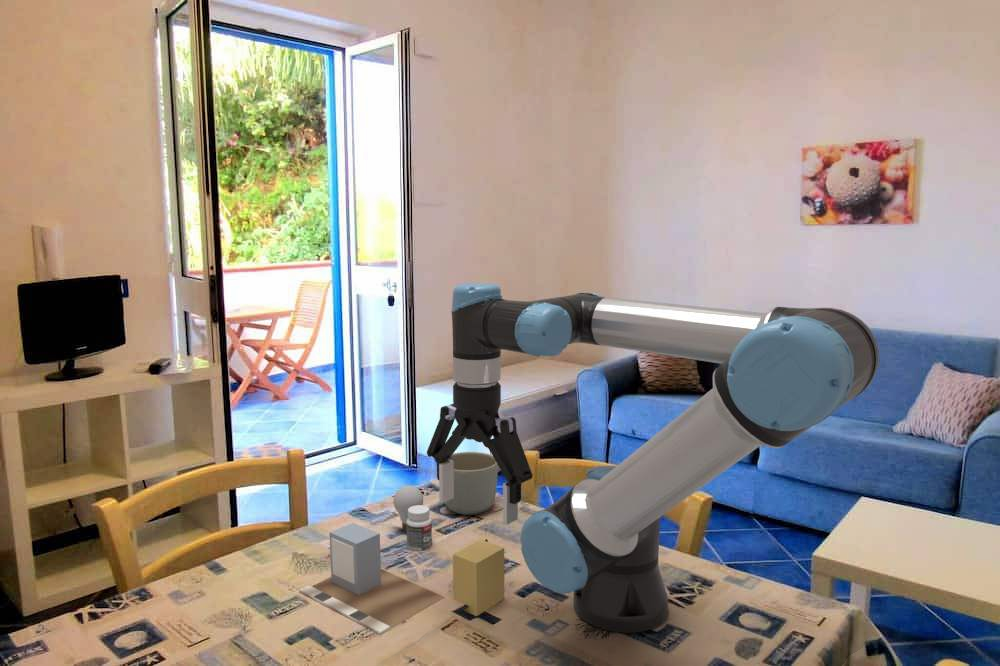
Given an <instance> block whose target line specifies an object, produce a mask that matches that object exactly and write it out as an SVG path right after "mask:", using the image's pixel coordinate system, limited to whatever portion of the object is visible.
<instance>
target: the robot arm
mask: <svg viewBox="0 0 1000 666" xmlns="http://www.w3.org/2000/svg"><path fill="white" fill-rule="evenodd" d="M451 303H452V304H451V310H450V314H451V321H452V322H451V323H452V326H451V327H452V380H453V381H454V383H453V385H452V402H453V403H450V404H447V405H444V406H441V407H440V409H439V411H440V413H439V420H438V422H437V425H436V428H435V430H434V433H433V435H432V436H431V437H432V438H431V440H430V443H429V445H428V448H427V451H426V455H427V457H429V458H431V457H432V458H433V459H434V462H435V463H436V478H437V481H439V484H438V485H439V486H438V488H439V492H438V493H439V497H438V498H439V503H444V504H445V502H446V501H448V500H451V499H453V498H454V461H452V460H449V461H448V459H450V458H452V457H451V456H452V454H454V453H456V452H455V451H456V450H457V449H458V447H460V445H461V444H462V443H463V442H464V440H469V441H470V440H474V441H475V442H477V443H482V444H483V446H484V447H486V448H487V449H488V450H489V452H490V455H492V456H493V457H494V459H495V461H496V463H497V464H498V469H499V470H500V471H501V473H502V474H503V477H504V478H505V480H506V482H504V483H502V524H503V525H509V524H511V523H513V522H515V521H517V520H518V518H519V515H518V514H519V511H518V509H519V508H518V507H519V505H518V504H519V503H520V502H521V501H522V484H523V483H525V482H527V481H530V480H531V479H532V478H533V472H532V470H531V467H530V465H529V464H530V463H529V462H528V460H527V456H526V453H525V450H524V449H523V446H522V442H521V440H520V438H519V435H518V431H517V421H516V418H515V417H514V416H511V417H508V418H501V417H500V414H499V410H500V406H501V403H502V400H501V399H502V389H501V387H502V385H501V384H500V382H499V381H500V380H501V377H502V376H501V371H502V370H501V360H502V359H501V356H502V355H501V353H502V350H503V351H509V352H514V353H519V354H520V353H521V354H525V355H530V356H532V357H556V356H559V355H561V354H562V353H563V350H564V349H566V348H567V347H568V345H571V344H580V343H581V344H588V345H595V346H603V347H609V348H617V349H622V350H630V351H635V352H636V351H637V352H643V353H650V354H654V355H655V354H658V355H661V356H669V357H675V358H683V359H688V360H689V359H690V360H697V361H703V362H709V363H715V364H720V365H718V367H717V368H715V369H714V371H713V372H712V388H711V389H710V390H709V391H707V392H706V393H705V394H704V395H702V396H701V397H700V398H699V399H698V400H696V401H695V402H694V403H692V404H691V405H690V406H689V407H687V409H686V410H684V411H683V412H681V414H679V415H678V416H677V417H676V418H674V419H673V420H672V421H670V422H669V423H668V424H667V425H666V426H664V427H663V428H662V429H661V430H659V431H658V432H657V433H656V434H654V435H653V436H652V437H651V438H649V440H647V441H646V442H645V443H643V444H642V445H641V446H640V447H639V448H637V449H636V450H635V451H634V452H632V453H631V454H630V455H629V456H627V457H626V458H625V459H624V460H622V461H621V462H620V463H619V464H618V465H599V466H598V465H597V466H593V467H591V468H589V469H588V470H587V471H586V476H585V478H584V479H583V480H581V481H579V482H578V483H577V484H576V485H574V486H573V487H572V488H571V489H569V490H568V491H567V492H566V493H564V494H563V495H562V496H561V497H560V498H558V499H557V500H555V502H553V503H552V504H550V505H549V506H547V507H545V508H544V509H541V510H538V511H535V512H534V513H533V514H532V515H530V516H529V517H528V519H526V520H525V521H524V523H523V525H522V527H521V530H520V531H521V532H520V539H519V540H520V543H521V547H520V549H521V554H522V556H523V559H524V562H525V564H526V566H527V569H528V570H529V571H530V573H531V574H532V576H533V577H534V578H535V579H536V580H537V581H538V583H540V585H542V586H543V587H545V588H546V589H549V590H550V591H552V592H554V593H557V594H561V595H563V594H564V595H565V594H571V593H572V592H573V609H574V611H575V613H576V614H577V615H578V617H580V619H581V620H582V621H584V622H585V623H587V624H589V625H591V626H593V627H595V628H598V629H601V630H604V631H608V632H615V633H623V634H625V633H626V634H627V633H634V634H635V633H641V632H646V631H650V630H653V629H655V628H657V627H659V626H661V625H662V624H663V623H664V622H665V621H666V619H667V617H668V615H669V596H668V593H667V590H666V587H665V584H664V579H663V576H662V573H661V569H660V566H659V553H660V530H661V529H660V528H661V527H660V526H661V517H663V516H664V515H666V514H667V513H668V512H670V510H672V509H673V508H675V507H676V506H678V505H679V504H681V503H682V502H683V501H685V500H686V499H688V498H689V497H690V496H692V495H693V494H694V493H696V492H697V491H699V490H701V488H703V487H704V486H706V485H708V483H710V482H711V481H713V480H715V479H716V478H717V477H718V476H720V475H721V474H723V473H724V472H725V471H727V470H728V469H730V468H731V467H733V466H735V464H737V463H738V462H739V461H741V460H742V459H744V458H745V457H747V456H748V455H749V454H750V453H752V452H753V451H755V450H757V449H758V448H759V447H761V446H762V447H766V448H770V449H781V448H783V447H784V446H786V445H787V444H789V443H791V441H793V440H795V439H796V438H798V437H800V435H802V434H803V433H805V432H806V431H808V430H809V429H811V428H812V427H813V426H815V425H818V424H820V423H822V422H824V421H825V420H826V419H828V418H829V417H831V416H832V415H833V414H834V413H836V411H837V410H838V409H839V408H841V407H842V406H844V405H845V404H847V403H848V402H850V401H852V400H853V399H854V398H856V397H858V396H859V395H860V394H862V393H863V392H864V391H865V390H866V389H867V388H868V387H869V386H870V384H871V383H872V382H873V380H874V379H875V376H876V375H877V372H878V367H879V364H880V363H879V362H880V350H879V346H878V342H877V340H876V337H875V335H874V333H873V332H872V330H871V329H870V328H869V326H868V325H867V324H866V323H865V322H864V321H863V320H862V319H860V318H859V317H857V316H856V315H854V314H852V313H850V312H848V311H846V310H843V309H839V308H834V307H815V308H813V307H811V308H810V307H807V308H806V307H804V308H803V307H802V308H799V307H786V306H773V307H772V308H771V309H770V310H768V311H767V312H756V311H748V310H738V309H727V308H718V307H707V306H697V305H688V304H687V305H686V304H676V303H668V302H656V301H646V300H645V301H644V300H638V299H625V298H616V297H615V298H614V297H605V296H603V295H602V294H600V293H596V292H578V293H576V294H575V293H574V294H570V295H565V296H557V297H550V298H544V299H537V300H528V301H525V300H524V301H523V300H522V301H521V300H511V299H509V300H508V299H504V298H503V296H502V291H501V287H500V285H498V284H494V283H487V282H469V283H461V284H458V285H456V286H455V287H454V288H453V291H452V302H451ZM455 421H456V423H457V425H456V427H455V428H454V429H453V431H452V428H453V424H454V422H455ZM451 431H452V432H451ZM450 432H451V435H450ZM449 435H450V436H449ZM492 437H493V438H492Z"/></svg>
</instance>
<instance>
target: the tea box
mask: <svg viewBox="0 0 1000 666" xmlns="http://www.w3.org/2000/svg"><path fill="white" fill-rule="evenodd" d="M452 573H453V574H452V575H453V576H452V578H453V579H452V581H453V583H452V584H453V585H452V586H453V587H452V588H453V600H454V601H457V602H460V603H462V604H464V605H466V606H468V607H466V608H464V609H463V611H464V612H466V613H468V614H470V615H473V616H475V617H478V616H480V615H481V614H483V613H485V611H487V610H488V609H491V608H492V607H493V606H495V605H497V604H498V603H500V602H501V601H503V600H504V599H505V547H503V546H499V545H497V544H495V543H491V542H489V541H488V542H487V541H485V540H484V539H479V540H477V541H475V542H474V543H472V544H469V545H468V546H466V547H464V548H463V549H460V550H458V551H456V552H455V553H453V554H452Z"/></svg>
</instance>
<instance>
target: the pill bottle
mask: <svg viewBox="0 0 1000 666" xmlns="http://www.w3.org/2000/svg"><path fill="white" fill-rule="evenodd" d="M430 516H431V515H430V508H429V506H427V505H416V506H412V507H410V508H409V509H408V517H409V518H408V519H407V522H406V526H407V531H406V547H407V549H409V550H411V551H414V552H415V551H417V552H419V551H425V550H428V549H431V547H433V532H432V531H433V528H432V527H433V525H432V518H431V517H430Z"/></svg>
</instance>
